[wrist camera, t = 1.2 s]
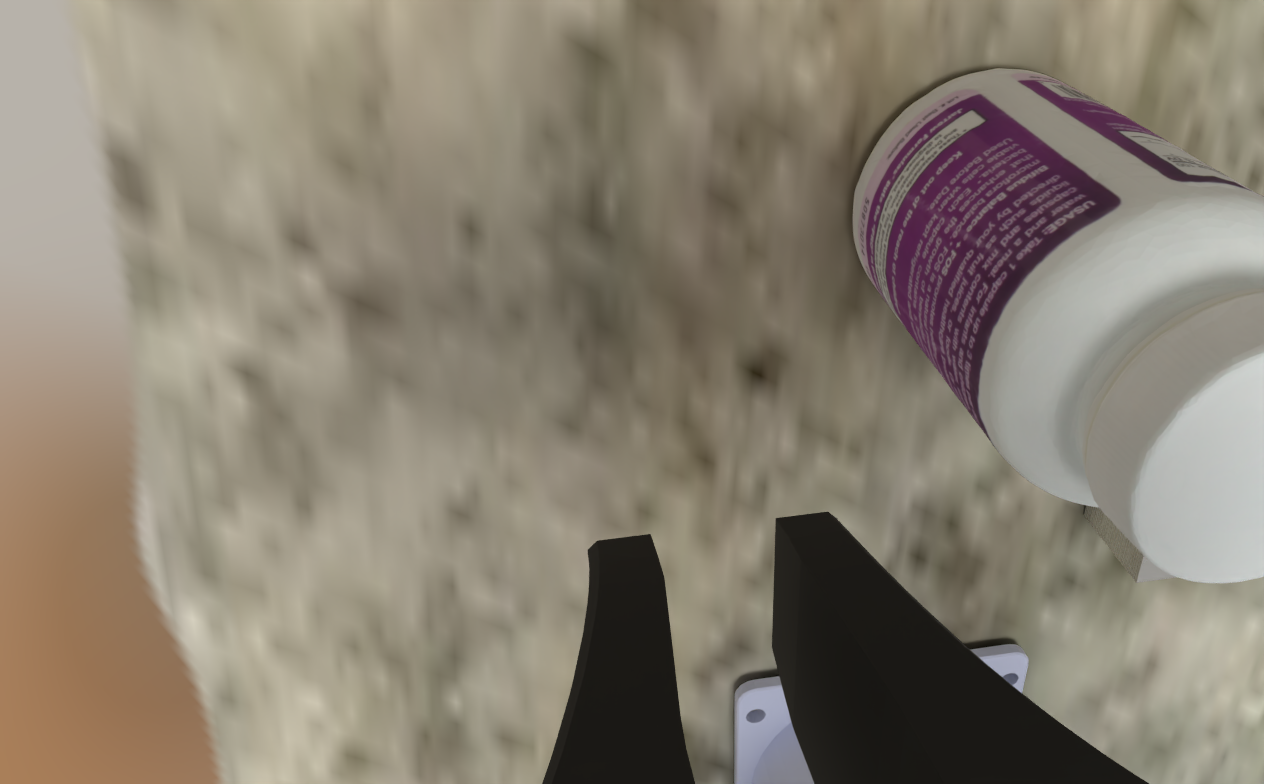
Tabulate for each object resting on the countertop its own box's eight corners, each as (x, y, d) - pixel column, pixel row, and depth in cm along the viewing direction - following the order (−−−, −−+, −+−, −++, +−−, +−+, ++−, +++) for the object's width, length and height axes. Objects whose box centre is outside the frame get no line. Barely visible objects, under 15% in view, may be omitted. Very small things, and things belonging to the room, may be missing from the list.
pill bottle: (873, 343, 23) (1091, 674, 15) (818, 121, 20) (1052, 382, 12) (1112, 258, 23) (1465, 549, 15) (1090, 19, 20) (1513, 219, 12)
